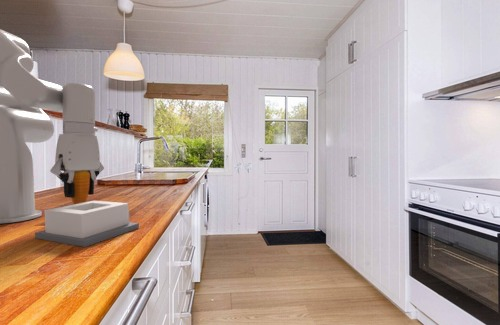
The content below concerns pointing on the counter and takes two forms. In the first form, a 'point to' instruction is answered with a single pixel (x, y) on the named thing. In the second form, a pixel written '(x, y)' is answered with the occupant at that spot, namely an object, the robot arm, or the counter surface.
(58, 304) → the counter surface
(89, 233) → the socket stand
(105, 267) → the counter surface
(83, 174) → the carrot
